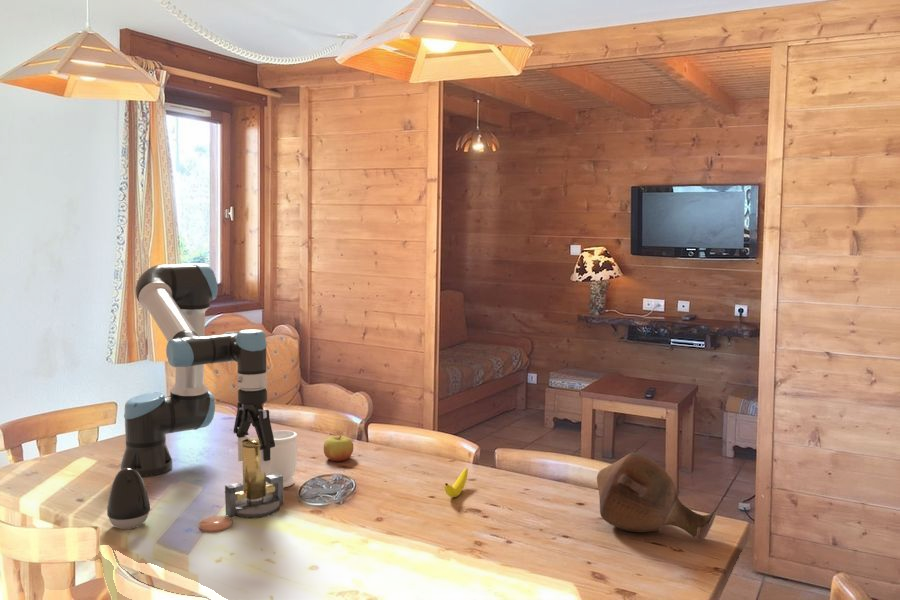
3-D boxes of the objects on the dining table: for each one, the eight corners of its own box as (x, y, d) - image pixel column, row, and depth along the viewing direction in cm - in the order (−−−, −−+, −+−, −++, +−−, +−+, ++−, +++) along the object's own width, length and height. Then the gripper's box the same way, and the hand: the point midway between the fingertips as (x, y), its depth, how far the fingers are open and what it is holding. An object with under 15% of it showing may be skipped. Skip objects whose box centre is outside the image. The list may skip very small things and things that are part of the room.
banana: (471, 484, 233) (471, 463, 232) (451, 506, 215) (451, 484, 215) (462, 483, 234) (462, 462, 233) (441, 505, 216) (441, 483, 215)
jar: (289, 491, 226) (288, 440, 225) (256, 488, 228) (255, 438, 227) (303, 479, 237) (302, 430, 235) (271, 476, 239) (270, 428, 237)
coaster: (194, 524, 201) (194, 521, 201) (223, 517, 206) (223, 513, 206) (206, 534, 195) (206, 530, 195) (236, 526, 200) (236, 522, 200)
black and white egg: (109, 536, 194) (106, 477, 192) (106, 522, 203) (103, 465, 201) (153, 529, 198) (151, 471, 197) (148, 515, 207) (146, 459, 206)
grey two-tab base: (217, 509, 212) (217, 480, 211) (269, 496, 222) (269, 468, 221) (239, 523, 202) (238, 493, 201) (292, 509, 212) (291, 480, 211)
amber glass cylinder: (230, 496, 211) (229, 442, 209) (268, 487, 218) (267, 435, 216) (240, 502, 206) (239, 447, 204) (278, 493, 213) (277, 439, 211)
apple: (359, 458, 257) (359, 434, 257) (340, 466, 249) (340, 441, 248) (336, 453, 263) (336, 430, 262) (317, 460, 255) (316, 436, 254)
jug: (578, 528, 201) (693, 576, 185) (586, 463, 193) (706, 507, 178) (609, 490, 216) (718, 532, 201) (617, 429, 209) (731, 467, 194)
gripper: (219, 382, 215) (221, 457, 218) (260, 398, 197) (262, 480, 199) (245, 378, 220) (246, 452, 223) (287, 393, 202) (288, 474, 204)
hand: (254, 466), depth 211 cm, fingers open, 12 cm apart
